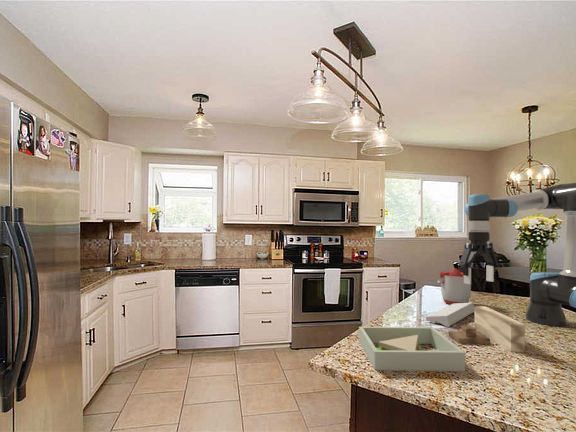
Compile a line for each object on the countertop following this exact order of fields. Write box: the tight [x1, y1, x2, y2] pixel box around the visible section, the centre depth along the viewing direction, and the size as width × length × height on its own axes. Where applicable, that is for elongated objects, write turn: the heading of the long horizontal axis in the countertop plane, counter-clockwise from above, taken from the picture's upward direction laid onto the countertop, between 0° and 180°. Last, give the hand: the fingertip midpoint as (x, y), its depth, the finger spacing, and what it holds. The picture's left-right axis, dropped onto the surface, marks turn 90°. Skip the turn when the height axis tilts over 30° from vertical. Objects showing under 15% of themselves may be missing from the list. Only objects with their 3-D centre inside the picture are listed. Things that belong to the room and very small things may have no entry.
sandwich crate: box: [358, 326, 466, 372], centre depth 112 cm, size 28×23×6 cm
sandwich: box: [376, 335, 423, 351], centre depth 112 cm, size 15×20×5 cm
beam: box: [474, 305, 526, 353], centre depth 128 cm, size 5×24×10 cm, turn 178°
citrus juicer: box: [437, 268, 472, 305], centre depth 181 cm, size 16×17×20 cm
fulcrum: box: [448, 325, 491, 345], centre depth 127 cm, size 12×8×5 cm, turn 89°
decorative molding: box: [425, 301, 475, 328], centre depth 156 cm, size 34×5×10 cm
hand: (478, 282), depth 132 cm, fingers open, 13 cm apart
